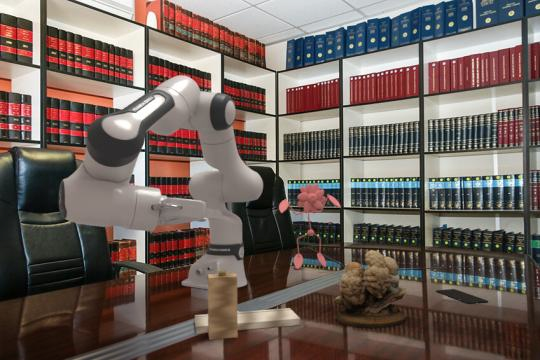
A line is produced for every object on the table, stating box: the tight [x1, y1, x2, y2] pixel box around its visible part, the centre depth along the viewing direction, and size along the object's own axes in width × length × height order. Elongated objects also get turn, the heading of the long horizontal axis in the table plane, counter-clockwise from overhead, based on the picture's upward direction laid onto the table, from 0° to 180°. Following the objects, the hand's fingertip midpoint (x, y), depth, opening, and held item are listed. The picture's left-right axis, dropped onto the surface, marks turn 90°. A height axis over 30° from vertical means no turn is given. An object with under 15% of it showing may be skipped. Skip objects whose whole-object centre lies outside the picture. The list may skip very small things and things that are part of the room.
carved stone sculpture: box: [334, 249, 407, 329], centre depth 100 cm, size 18×12×17 cm, turn 103°
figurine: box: [278, 183, 342, 274], centre depth 165 cm, size 15×26×35 cm, turn 105°
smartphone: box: [435, 288, 489, 305], centre depth 120 cm, size 7×1×15 cm
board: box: [194, 307, 301, 335], centre depth 98 cm, size 24×9×2 cm, turn 103°
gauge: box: [207, 270, 239, 340], centre depth 93 cm, size 6×12×14 cm, turn 13°
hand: (212, 216), depth 88 cm, fingers open, 8 cm apart
